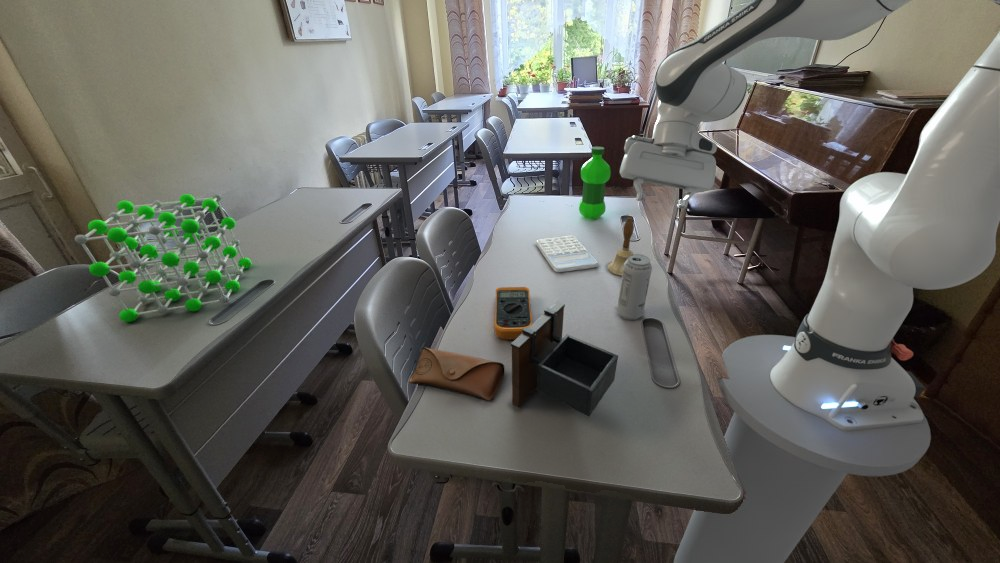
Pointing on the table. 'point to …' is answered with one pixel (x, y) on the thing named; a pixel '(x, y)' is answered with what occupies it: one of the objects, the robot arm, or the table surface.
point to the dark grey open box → (573, 370)
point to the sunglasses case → (458, 373)
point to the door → (521, 354)
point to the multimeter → (512, 312)
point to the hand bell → (623, 250)
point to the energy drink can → (634, 286)
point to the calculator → (566, 253)
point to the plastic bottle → (594, 185)
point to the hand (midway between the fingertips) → (661, 204)
